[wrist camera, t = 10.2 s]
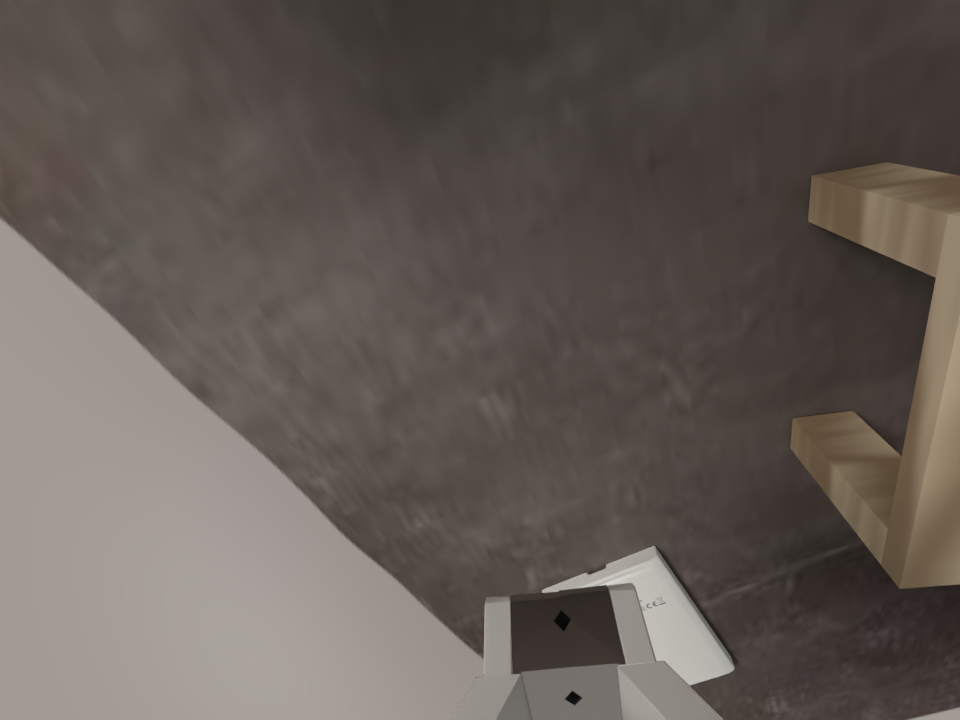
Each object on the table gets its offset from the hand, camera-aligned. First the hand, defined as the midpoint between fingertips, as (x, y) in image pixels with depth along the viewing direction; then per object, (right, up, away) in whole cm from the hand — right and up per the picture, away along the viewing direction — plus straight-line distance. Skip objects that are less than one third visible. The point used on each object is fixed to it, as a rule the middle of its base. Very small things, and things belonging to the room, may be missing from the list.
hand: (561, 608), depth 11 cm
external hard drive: (+9, -13, +26) cm, 31 cm away
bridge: (+16, +7, +15) cm, 23 cm away
